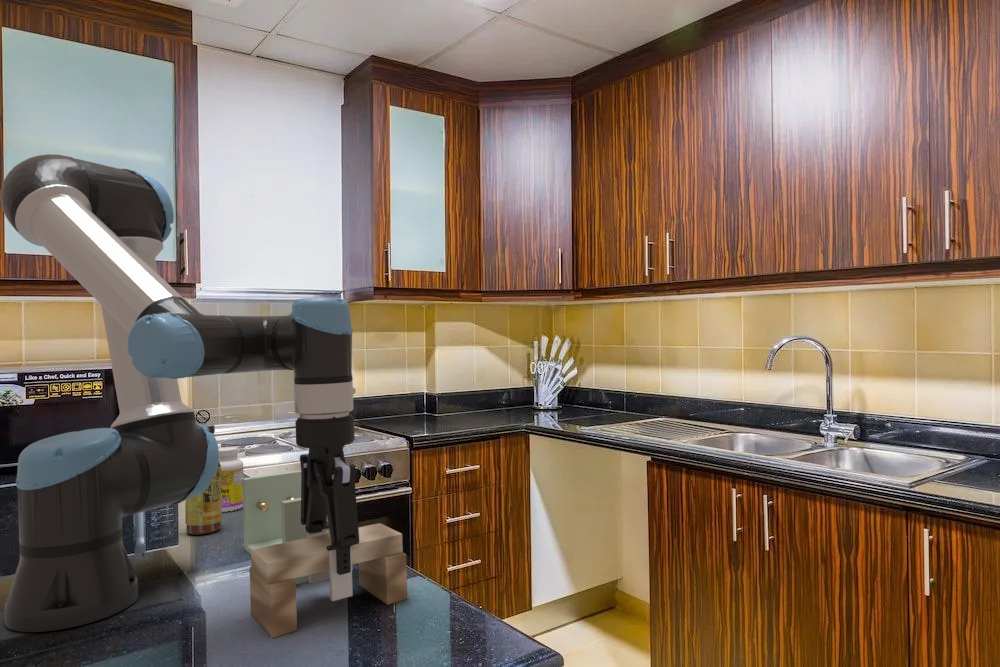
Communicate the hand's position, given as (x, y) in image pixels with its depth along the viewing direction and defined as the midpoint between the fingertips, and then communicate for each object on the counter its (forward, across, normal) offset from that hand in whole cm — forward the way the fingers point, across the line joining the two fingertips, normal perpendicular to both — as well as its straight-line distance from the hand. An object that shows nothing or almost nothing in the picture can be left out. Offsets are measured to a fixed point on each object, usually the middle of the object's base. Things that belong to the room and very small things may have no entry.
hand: (330, 588), depth 87 cm
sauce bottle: (+3, +50, +5) cm, 50 cm away
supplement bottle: (+3, +64, -2) cm, 65 cm away
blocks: (+2, 0, 0) cm, 2 cm away
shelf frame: (+2, +22, -3) cm, 22 cm away
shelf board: (-4, 0, 0) cm, 4 cm away
